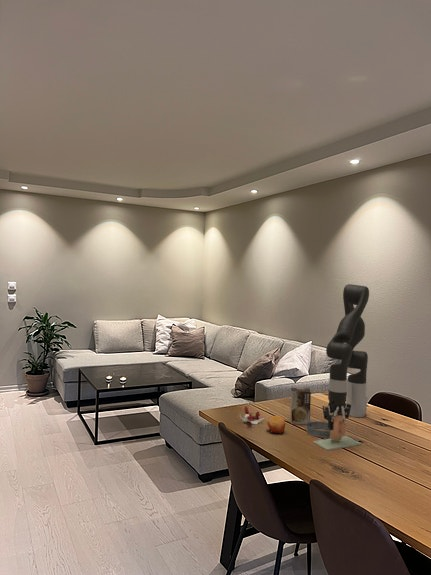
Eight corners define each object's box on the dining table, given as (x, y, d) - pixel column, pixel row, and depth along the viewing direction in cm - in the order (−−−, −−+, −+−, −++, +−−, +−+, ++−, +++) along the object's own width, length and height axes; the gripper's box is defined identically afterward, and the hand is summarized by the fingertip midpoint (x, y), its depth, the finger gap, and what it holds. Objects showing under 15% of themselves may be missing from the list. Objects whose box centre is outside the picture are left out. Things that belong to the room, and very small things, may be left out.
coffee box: (308, 420, 212) (309, 388, 212) (310, 425, 206) (311, 391, 205) (289, 419, 213) (291, 387, 213) (290, 424, 207) (292, 390, 206)
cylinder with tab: (327, 436, 186) (328, 413, 185) (336, 435, 188) (337, 412, 187) (338, 442, 179) (339, 418, 179) (348, 441, 181) (349, 417, 181)
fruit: (288, 426, 199) (286, 413, 195) (284, 439, 193) (282, 427, 189) (271, 423, 202) (269, 411, 199) (266, 436, 196) (264, 424, 193)
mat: (346, 437, 191) (346, 435, 191) (360, 444, 183) (360, 443, 183) (313, 442, 184) (313, 441, 184) (327, 450, 176) (327, 449, 176)
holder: (323, 426, 205) (323, 420, 205) (342, 435, 193) (342, 429, 193) (300, 429, 199) (301, 423, 199) (318, 439, 188) (319, 432, 187)
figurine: (266, 428, 199) (267, 414, 199) (242, 428, 198) (242, 414, 198) (259, 417, 214) (260, 404, 214) (236, 418, 213) (237, 404, 213)
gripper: (330, 393, 178) (328, 434, 178) (356, 390, 184) (355, 430, 184) (318, 388, 184) (316, 428, 185) (344, 386, 190) (343, 424, 191)
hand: (336, 428), depth 184 cm, fingers closed on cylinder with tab, 5 cm apart
